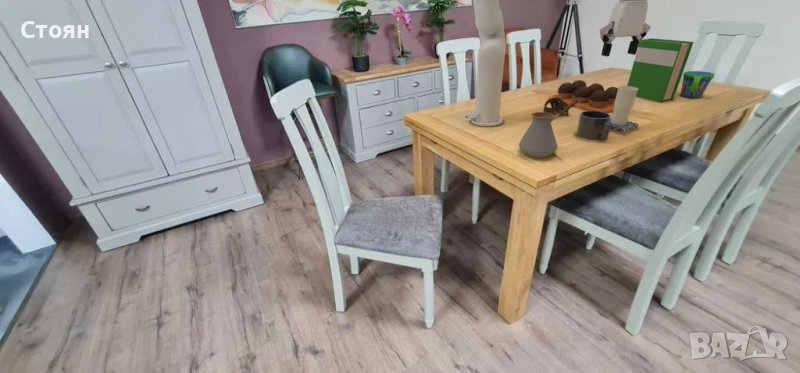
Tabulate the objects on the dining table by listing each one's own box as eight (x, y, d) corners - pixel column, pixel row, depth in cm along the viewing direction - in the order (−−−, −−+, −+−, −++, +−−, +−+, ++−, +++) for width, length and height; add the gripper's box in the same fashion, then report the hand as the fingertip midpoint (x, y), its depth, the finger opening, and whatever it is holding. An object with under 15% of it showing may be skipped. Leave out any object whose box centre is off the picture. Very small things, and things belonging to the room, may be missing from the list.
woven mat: (594, 127, 125) (595, 121, 124) (611, 121, 130) (612, 116, 129) (621, 135, 117) (623, 129, 116) (639, 128, 122) (641, 123, 121)
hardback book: (673, 100, 148) (693, 41, 136) (660, 102, 146) (680, 43, 134) (636, 91, 163) (652, 38, 151) (624, 93, 161) (640, 39, 149)
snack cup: (680, 90, 160) (688, 68, 155) (708, 94, 153) (717, 71, 148) (672, 98, 151) (680, 74, 146) (702, 101, 144) (711, 77, 139)
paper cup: (616, 126, 119) (626, 90, 113) (605, 120, 125) (613, 86, 118) (632, 124, 120) (642, 89, 114) (620, 119, 125) (629, 85, 119)
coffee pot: (536, 164, 101) (544, 116, 94) (510, 151, 110) (515, 107, 103) (585, 148, 109) (596, 103, 102) (556, 138, 118) (564, 95, 111)
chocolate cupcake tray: (628, 107, 143) (633, 87, 139) (601, 114, 137) (606, 93, 133) (573, 94, 165) (576, 76, 161) (548, 99, 159) (551, 81, 155)
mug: (570, 133, 121) (575, 112, 117) (593, 131, 122) (598, 109, 118) (592, 146, 111) (598, 123, 107) (617, 143, 111) (623, 120, 108)
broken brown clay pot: (573, 118, 136) (568, 103, 131) (549, 128, 139) (544, 113, 134) (564, 103, 144) (560, 88, 139) (542, 112, 148) (537, 98, 143)
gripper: (649, -5, 109) (633, 51, 117) (600, -2, 107) (587, 55, 115) (668, -5, 102) (650, 55, 111) (617, -2, 100) (602, 58, 109)
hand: (618, 54), depth 113 cm, fingers open, 9 cm apart
